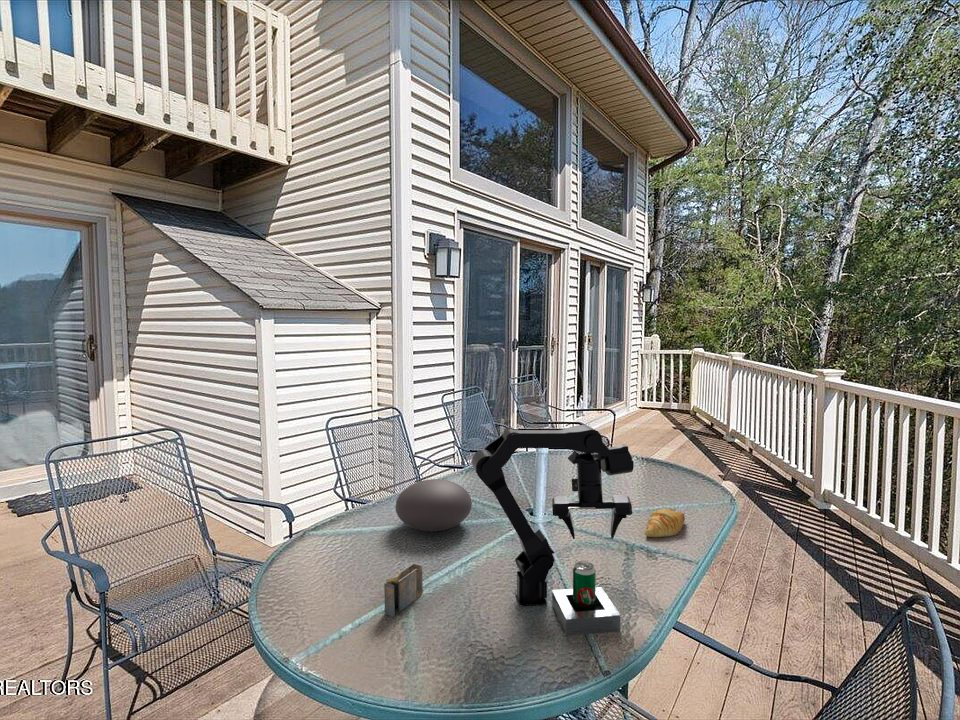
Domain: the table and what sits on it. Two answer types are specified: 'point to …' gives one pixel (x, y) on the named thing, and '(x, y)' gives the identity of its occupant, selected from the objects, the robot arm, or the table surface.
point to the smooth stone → (433, 505)
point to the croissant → (664, 523)
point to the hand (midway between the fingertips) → (592, 538)
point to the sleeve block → (585, 613)
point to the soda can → (584, 586)
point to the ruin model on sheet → (403, 588)
